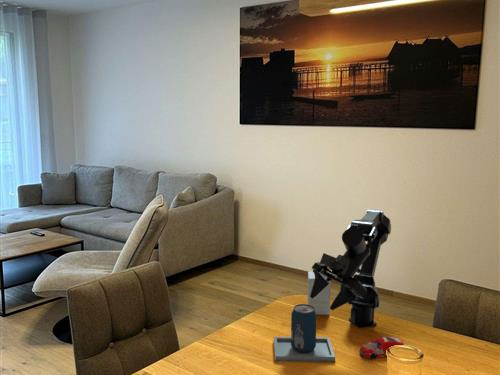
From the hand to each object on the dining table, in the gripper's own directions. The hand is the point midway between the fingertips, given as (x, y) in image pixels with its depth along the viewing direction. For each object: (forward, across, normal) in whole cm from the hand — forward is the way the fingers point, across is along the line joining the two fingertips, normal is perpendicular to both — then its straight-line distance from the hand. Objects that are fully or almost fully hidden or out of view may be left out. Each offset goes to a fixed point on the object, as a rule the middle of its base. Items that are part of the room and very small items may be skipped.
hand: (320, 303), depth 129 cm
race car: (0, +11, +19) cm, 22 cm away
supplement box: (-1, -20, +20) cm, 28 cm away
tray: (+13, 0, +5) cm, 14 cm away
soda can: (+13, 0, +5) cm, 14 cm away
